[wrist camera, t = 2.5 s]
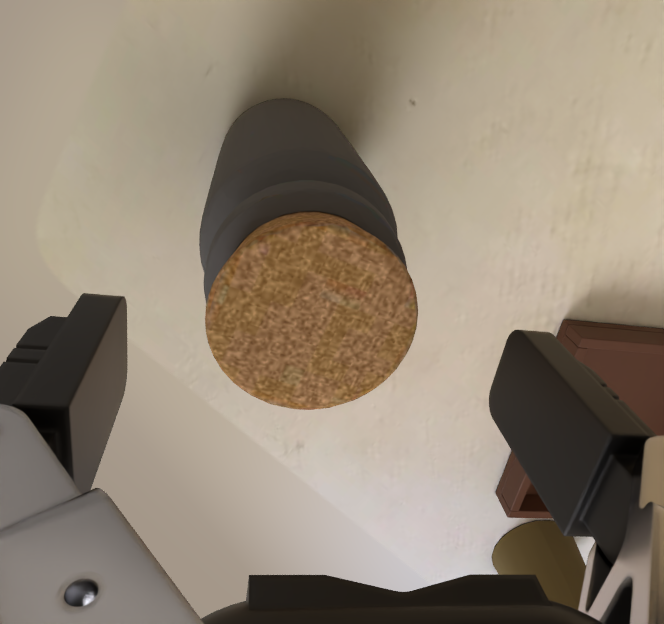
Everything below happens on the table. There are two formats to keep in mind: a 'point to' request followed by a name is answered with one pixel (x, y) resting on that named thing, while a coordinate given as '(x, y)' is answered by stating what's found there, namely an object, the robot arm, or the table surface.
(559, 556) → the pepper shaker
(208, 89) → the table surface
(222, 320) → the bottle
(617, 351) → the tray
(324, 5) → the table surface
